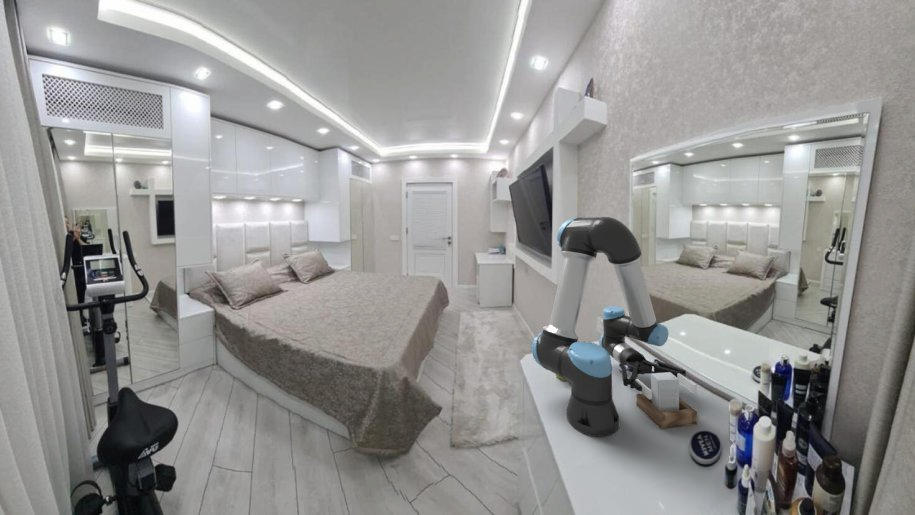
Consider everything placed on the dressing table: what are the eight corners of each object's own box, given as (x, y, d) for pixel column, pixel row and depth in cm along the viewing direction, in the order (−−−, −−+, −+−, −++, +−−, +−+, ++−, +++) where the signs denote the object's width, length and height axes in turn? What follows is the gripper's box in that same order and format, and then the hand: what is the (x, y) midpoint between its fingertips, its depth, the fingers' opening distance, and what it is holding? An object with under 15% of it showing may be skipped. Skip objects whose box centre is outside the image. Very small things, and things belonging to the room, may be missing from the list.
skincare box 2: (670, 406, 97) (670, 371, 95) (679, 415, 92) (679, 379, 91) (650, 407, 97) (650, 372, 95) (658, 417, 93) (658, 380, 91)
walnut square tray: (660, 428, 89) (660, 416, 89) (636, 405, 100) (636, 394, 100) (696, 424, 90) (697, 411, 89) (669, 401, 101) (669, 389, 100)
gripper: (662, 363, 112) (713, 398, 91) (596, 372, 111) (631, 409, 90) (662, 344, 111) (714, 374, 90) (595, 352, 110) (631, 385, 89)
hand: (673, 392), depth 90 cm, fingers open, 13 cm apart
